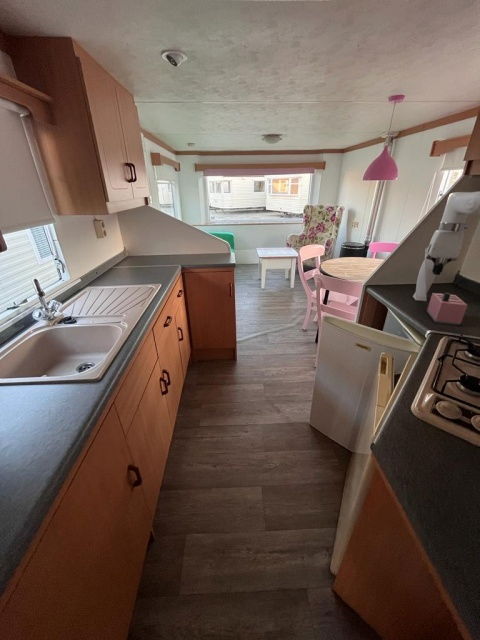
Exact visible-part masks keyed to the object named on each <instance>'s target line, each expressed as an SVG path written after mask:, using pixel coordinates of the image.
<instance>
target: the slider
mask: <svg viewBox="0 0 480 640" xmlns="http://www.w3.org/2000/svg"><path fill="white" fill-rule="evenodd" d="M443 294H444V296H443V299H442V300H443V301H449V297H450V295H451V293H450V292H444V293H443Z"/></svg>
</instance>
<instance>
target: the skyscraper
mask: <svg viewBox="0 0 480 640" xmlns="http://www.w3.org/2000/svg"><path fill="white" fill-rule="evenodd" d="M427 249H428V247H426V248H425V249H424V250H425V251H424V260H423V262H422V263H421V266H420V268H419V272H418V275H417V279H416V286H415V292H414V293H413V296H412V298H414V301H422V302H427V301H428V299H427V298H428V297H427V294H428V292H429V290H430V289H431V286H432V285H433V282H434V280H435V277H436V275H434V274H433V272H432V270H433V266H434V263H433V261H432V260H429V259H426V255H427Z"/></svg>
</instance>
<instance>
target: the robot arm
mask: <svg viewBox="0 0 480 640" xmlns="http://www.w3.org/2000/svg"><path fill="white" fill-rule="evenodd" d="M468 216H480V190H479V191H471V192H470V191H458V192H457V191H456V192H452V193H450V194H449V196H448V197H447V202H446V203H445V207H444V211H443V214H442V217H441V221H440V224H439V227H438V229H436V230H435V231H434V233H433V235H432V237H431V239H430V242H429V244H428V247H427V248H428V249H426V250H427V255H426V259H429V260H432V261H433V263H434V266H433V270H432V272H433V274H434V275H435V276H441V273H442V272H443V270H444V267H445V266H446V265H447V264H449V263H451V262H457V261H458V257H459V256H460V253H461V251H462V247H463V242H464V236H465V232H464V230H466V229H468V228H469V227H470V226H469V224H466V221H467V219H468Z"/></svg>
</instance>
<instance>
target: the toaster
mask: <svg viewBox="0 0 480 640" xmlns="http://www.w3.org/2000/svg"><path fill="white" fill-rule="evenodd" d="M443 296H444V293H437V292H436V293H435V292H432V293H431V296H430V300H429V303H428V305H427V309H426V313H427V314H428V315H429V316H430V318H432V320H433V321H434V323H439V324H448V325H454V326H455V325H456V326H457V325H458V326H461V324H462V321H463V318H464V316H465V313H466V310H467V308H468V304H467V303H465V302H464V300H462V299H461V298H460V297H458V296H457V295H456V294H450V297H449V301H443V300H442V299H443Z"/></svg>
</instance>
